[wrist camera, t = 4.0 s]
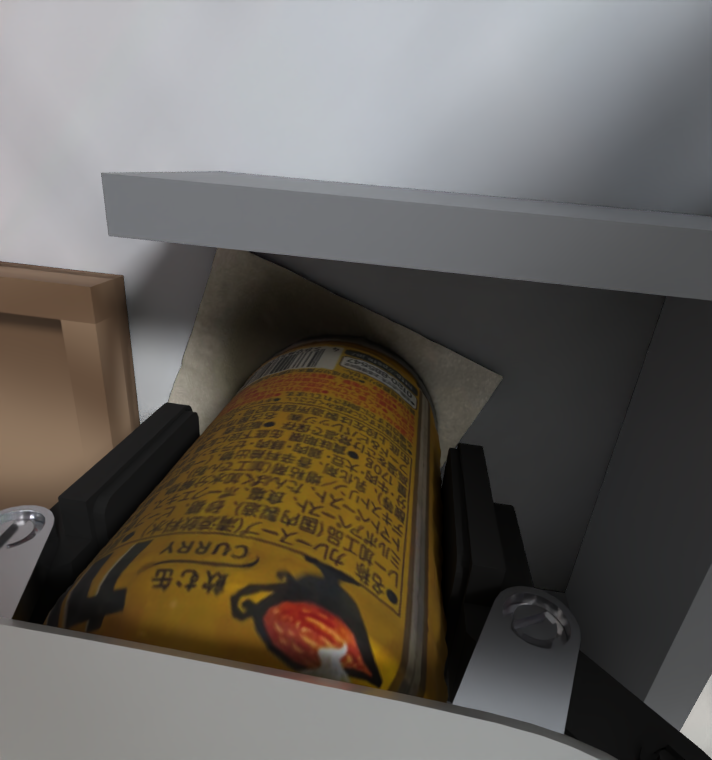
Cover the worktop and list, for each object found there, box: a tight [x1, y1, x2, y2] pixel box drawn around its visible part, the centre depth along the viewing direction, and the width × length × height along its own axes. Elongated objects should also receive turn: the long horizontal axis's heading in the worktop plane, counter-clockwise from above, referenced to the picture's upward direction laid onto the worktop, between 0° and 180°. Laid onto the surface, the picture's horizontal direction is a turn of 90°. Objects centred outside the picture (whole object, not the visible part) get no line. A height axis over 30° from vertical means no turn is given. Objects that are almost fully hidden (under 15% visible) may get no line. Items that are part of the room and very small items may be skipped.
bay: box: [101, 171, 712, 731], centre depth 12 cm, size 13×12×5 cm
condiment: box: [43, 248, 503, 703], centre depth 9 cm, size 7×8×12 cm
